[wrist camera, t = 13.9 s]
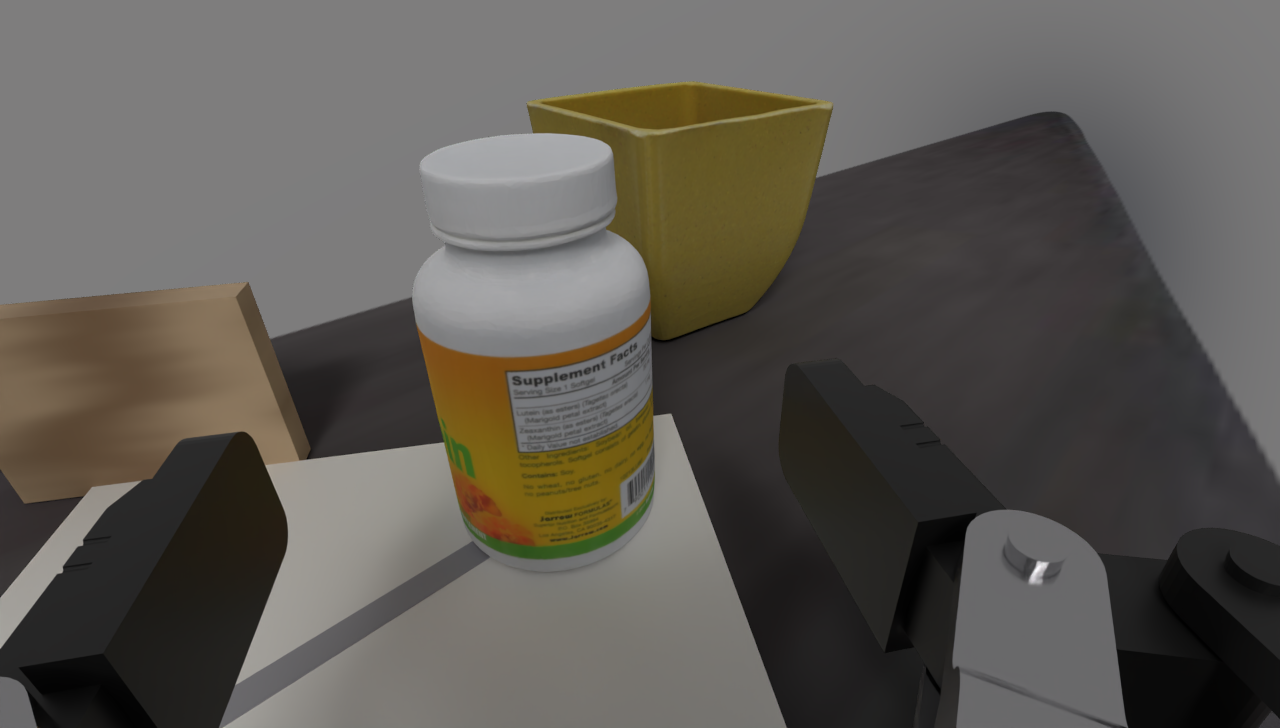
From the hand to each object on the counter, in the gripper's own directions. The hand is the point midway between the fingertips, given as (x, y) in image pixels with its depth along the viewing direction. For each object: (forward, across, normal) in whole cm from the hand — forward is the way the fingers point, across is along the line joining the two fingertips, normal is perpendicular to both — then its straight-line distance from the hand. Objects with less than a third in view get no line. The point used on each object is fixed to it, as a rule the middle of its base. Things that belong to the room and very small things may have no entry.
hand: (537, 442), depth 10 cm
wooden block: (+10, +12, +7) cm, 17 cm away
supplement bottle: (+6, 0, +7) cm, 9 cm away
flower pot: (+18, -6, +7) cm, 20 cm away
